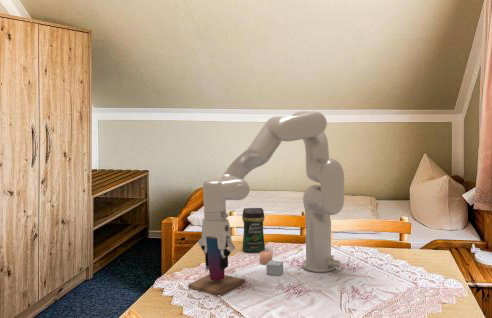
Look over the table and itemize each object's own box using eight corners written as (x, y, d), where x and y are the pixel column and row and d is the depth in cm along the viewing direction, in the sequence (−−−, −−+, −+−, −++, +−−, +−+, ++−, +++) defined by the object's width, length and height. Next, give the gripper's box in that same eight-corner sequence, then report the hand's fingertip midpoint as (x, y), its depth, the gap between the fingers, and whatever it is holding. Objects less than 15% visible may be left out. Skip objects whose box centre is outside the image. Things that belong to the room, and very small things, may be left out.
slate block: (283, 271, 176) (283, 261, 176) (279, 276, 172) (279, 265, 171) (270, 270, 178) (270, 260, 178) (266, 275, 173) (266, 264, 173)
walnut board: (244, 282, 166) (244, 279, 165) (220, 296, 154) (220, 292, 154) (213, 275, 174) (213, 272, 173) (188, 287, 162) (188, 284, 162)
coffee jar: (243, 253, 199) (242, 210, 196) (242, 248, 206) (241, 206, 204) (266, 252, 199) (265, 209, 197) (264, 247, 207) (263, 205, 205)
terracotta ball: (274, 261, 188) (274, 252, 187) (269, 265, 183) (269, 255, 183) (262, 259, 190) (262, 250, 189) (257, 263, 185) (257, 253, 185)
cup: (224, 282, 160) (222, 239, 158) (204, 281, 161) (203, 238, 159) (228, 274, 166) (227, 233, 165) (210, 274, 168) (208, 233, 166)
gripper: (242, 216, 159) (243, 267, 161) (202, 210, 169) (204, 259, 171) (228, 220, 153) (230, 274, 155) (188, 214, 163) (190, 265, 165)
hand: (216, 265), depth 163 cm, fingers closed on cup, 6 cm apart
